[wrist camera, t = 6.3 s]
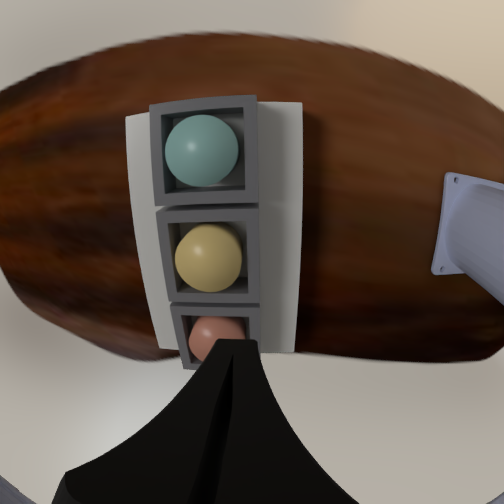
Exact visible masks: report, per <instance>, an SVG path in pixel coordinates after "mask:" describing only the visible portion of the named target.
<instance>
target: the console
mask: <svg viewBox="0 0 504 504" xmlns="http://www.w3.org/2000/svg"><path fill="white" fill-rule="evenodd" d="M195 115H210V116H213V117H216V118H218V119H220V120H222V121H223V122H224V123H226V124H227V125H228V126H230V127H231V128H232V129H233V130H234V132H235V133H236V135H237V137H238V139H239V143H240V157H239V160H238V162H237V165H236V166H235V168H234V169H233V170H232V172H230V173H229V174H228V175H227V176H226V177H224V178H223V179H222V180H220V181H218V182H217V183H215V184H212V185H209V186H202V187H197V186H191V185H188V184H185V183H183V182H182V181H180V180H179V179H177V178H176V177H175V176H174V175H173V173H172V172H171V171H170V169H169V167H168V165H167V162H166V157H165V147H166V142H167V139H168V137H169V135H170V133H171V131H172V130H173V129H174V127H175V126H176V125H177V124H179V123H180V122H181V121H183V120H184V119H186V118H189V117H191V116H195ZM126 145H127V163H128V176H129V187H130V197H131V206H132V214H133V222H134V229H135V236H136V242H137V249H138V255H139V260H140V266H141V271H142V276H143V281H144V286H145V291H146V296H147V300H148V304H149V309H150V313H151V317H152V321H153V325H154V329H155V333H156V337H157V340H158V344H159V348H164V349H175V350H179V352H180V356H181V360H182V364H183V368H184V369H190V370H197V369H198V368H199V366H200V365H201V364H202V362H203V361H201V360H199V359H198V358H197V357H196V356H195V355H194V354H193V353H192V351H191V349H190V346H189V338H190V335H191V332H192V329H193V326H194V323H195V321H196V318H197V316H236V317H242V318H243V320H244V322H245V324H246V339H255V340H256V341H257V342H258V350H259V355H260V353H281V352H294V345H295V334H296V321H297V308H298V294H299V277H300V258H301V234H302V198H303V124H302V103H296V102H257V98H256V95H236V96H219V97H207V98H197V99H188V100H180V101H173V102H166V103H160V104H154V105H149V112H148V113H143V114H138V115H133V116H128V117H126ZM219 221H221V222H224V223H226V224H228V225H230V226H231V227H232V228H234V229H235V230H236V231H237V233H238V234H239V236H240V238H241V240H242V243H243V257H242V263H241V269H240V272H239V275H238V277H237V279H236V280H235V281H234V283H233V284H231V285H230V286H229V287H227V288H226V289H223V290H221V291H217V292H204V291H200V290H197V289H195V288H193V287H191V286H190V285H188V284H187V283H186V282H185V281H184V280H183V279H182V278H181V276H180V274H179V273H178V271H177V268H176V264H175V253H176V249H177V247H178V245H179V243H180V242H181V241H182V239H183V238H184V237H185V236H186V234H187V233H188V232H189V231H190V230H191V229H192V228H193V227H194V226H195V225H196V224H198V223H200V222H219Z"/></svg>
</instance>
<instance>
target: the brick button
mask: <svg viewBox="0 0 504 504" xmlns="http://www.w3.org/2000/svg"><path fill="white" fill-rule="evenodd" d="M219 338H223V339H246V324H245V322H244V320H243V318H242V317H236V316H197V318H196V321H195V323H194V326H193V329H192V332H191V335H190V338H189V346H190V349H191V351H192V353H193V354H194V355H195V356H196V357H197V358H198V359H199V360H201V361H204V359H205V358H206V356H207V355H208V353H209V351H210V350H211V348H212V346H213V345H214V343H215V341H216V340H217V339H219Z"/></svg>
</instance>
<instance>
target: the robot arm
mask: <svg viewBox="0 0 504 504" xmlns="http://www.w3.org/2000/svg"><path fill="white" fill-rule="evenodd" d="M454 178H456V181H455V182H454ZM441 267H442V269H441ZM440 269H441V270H440ZM431 271H432V273H433V274H434V275H445V274H459V273H466V274H467V275H468V276H469V277H471V278H472V279H473V280H474V281H476V282H477V283H478V284H479V285H481V286H482V287H483V288H484V289H485V290H487V291H488V292H489V293H490V294H491V295H492V296H494V297H495V298H496V299H497V300H498V301H499V302H500V303H502V304H503V305H504V184H501V183H497V182H493V181H489V180H485V179H481V178H476V177H472V176H467V175H462V174H457V173H452V172H448V173H446V175H445V178H444V191H443V201H442V209H441V217H440V224H439V230H438V236H437V242H436V248H435V253H434V258H433V262H432V267H431ZM0 504H36V503H35V502H33V501H31V500H30V499H29V498H27V497H26V496H25V495H23V494H22V493H20V492H19V490H18V489H17V488H15V487H14V486H13V485H12V484H10V483H9V482H8V481H7V480H5V479H4V478H3V477H2V476H0ZM52 504H359V503H358V502H357V501H356V500H354V499H353V498H352V497H351V496H350V495H348V494H347V493H346V492H345V491H344V490H343V489H342V488H341V487H340V486H339V485H338V484H337V483H336V482H335V481H334V480H333V479H332V478H331V477H330V476H329V475H328V474H327V473H326V472H325V471H324V470H323V469H322V467H321V466H320V465H319V464H318V463H317V461H316V460H315V459H314V458H313V456H312V455H311V454H310V453H309V451H308V450H307V449H306V448H305V446H304V445H303V444H302V442H301V441H300V439H299V438H298V436H297V435H296V434H295V432H294V431H293V429H292V427H291V426H290V424H289V423H288V421H287V419H286V417H285V416H284V414H283V412H282V410H281V408H280V407H279V405H278V403H277V401H276V399H275V397H274V395H273V392H272V390H271V388H270V385H269V383H268V380H267V378H266V375H265V372H264V370H263V366H262V363H261V360H260V355H259V350H258V342H257V341H256V340H255V339H223V338H219V339H217V340H216V341H215V343H214V345H213V346H212V348H211V350H210V351H209V353H208V355H207V356H206V358H205V359H204V361H203V362H202V364H201V365H200V366H199V368H198V369H197V370H196V372H195V373H194V375H193V376H192V377H191V379H190V380H189V381H188V382H187V384H186V385H185V386H184V387H183V388H182V389H181V391H180V392H179V393H178V394H177V395H176V396H175V397H174V399H173V400H172V401H171V402H170V403H169V404H168V405H167V406H166V407H165V408H164V409H163V410H162V411H161V412H160V413H159V414H158V415H157V416H155V417H154V418H153V419H152V420H151V421H150V422H149V423H148V424H146V425H145V426H144V427H143V428H141V429H140V430H139V431H138V432H136V433H135V434H134V435H132V436H131V437H130V438H128V439H127V440H125V441H124V442H123V443H121V444H119V445H118V446H116V447H115V448H113V449H111V450H110V451H108V452H106V453H105V454H103V455H102V456H100V457H98V458H96V459H94V460H92V461H90V462H87V463H85V464H83V465H81V466H79V467H77V468H74V469H72V470H69V471H67V472H65V475H64V476H63V478H62V480H61V481H60V484H59V486H58V489H57V491H56V493H55V496H54V499H53V501H52ZM487 504H504V492H503V493H502V494H500V495H499V496H498V497H497V498H495V499H494V500H492V501H491V502H489V503H487Z"/></svg>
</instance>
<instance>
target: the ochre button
mask: <svg viewBox="0 0 504 504" xmlns="http://www.w3.org/2000/svg"><path fill="white" fill-rule="evenodd" d="M242 257H243V243H242V240H241V238H240V236H239V234H238V233H237V231H236V230H235V229H234V228H232V227H231V226H230V225H228V224H226V223H224V222H221V221H219V222H200V223H198V224H196V225H195V226H194V227H193V228H192V229H191V230H190V231H189V232H188V233H187V234H186V236H185V237H184V238H183V239H182V241H181V242H180V243H179V245H178V247H177V249H176V253H175V264H176V268H177V271H178V273H179V274H180V276H181V278H182V279H183V280H184V281H185V282H186V283H187V284H188V285H190V286H191V287H193V288H195V289H197V290H200V291H204V292H217V291H221V290H223V289H226V288H227V287H229V286H230V285H231V284H233V283H234V281H235V280H236V279H237V277H238V275H239V272H240V269H241V263H242Z"/></svg>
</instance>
